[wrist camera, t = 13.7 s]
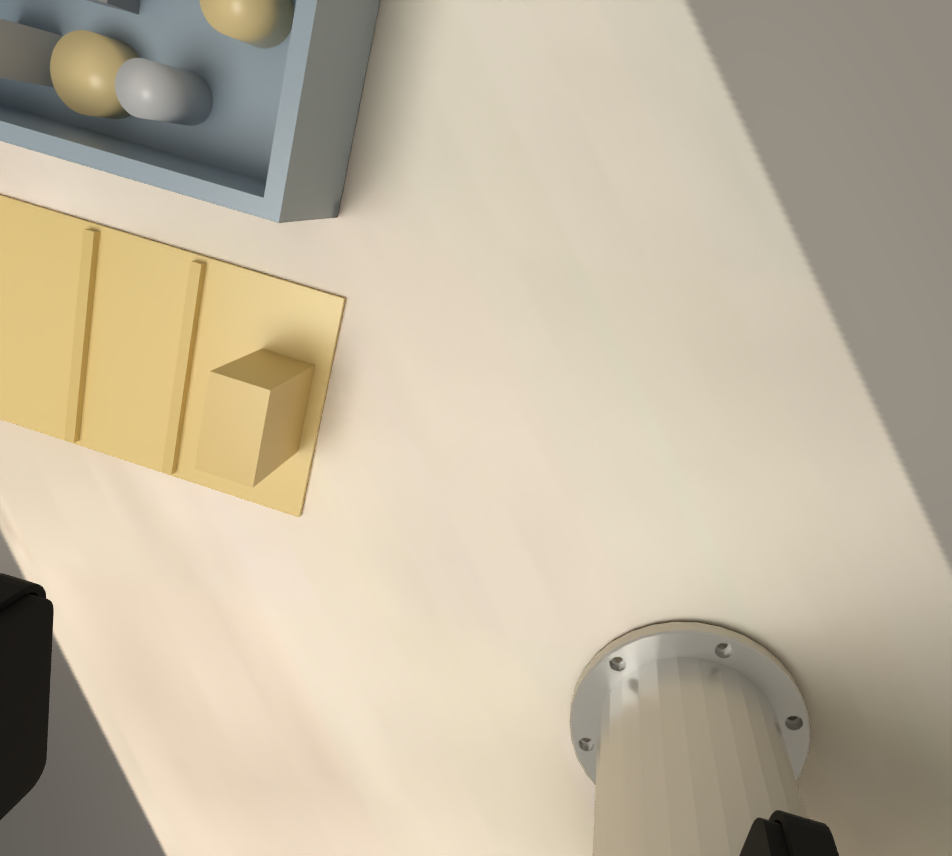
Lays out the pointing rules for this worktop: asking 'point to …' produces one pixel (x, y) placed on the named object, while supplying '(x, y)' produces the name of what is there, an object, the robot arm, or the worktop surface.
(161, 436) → the lid
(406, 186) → the worktop surface
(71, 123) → the tub
